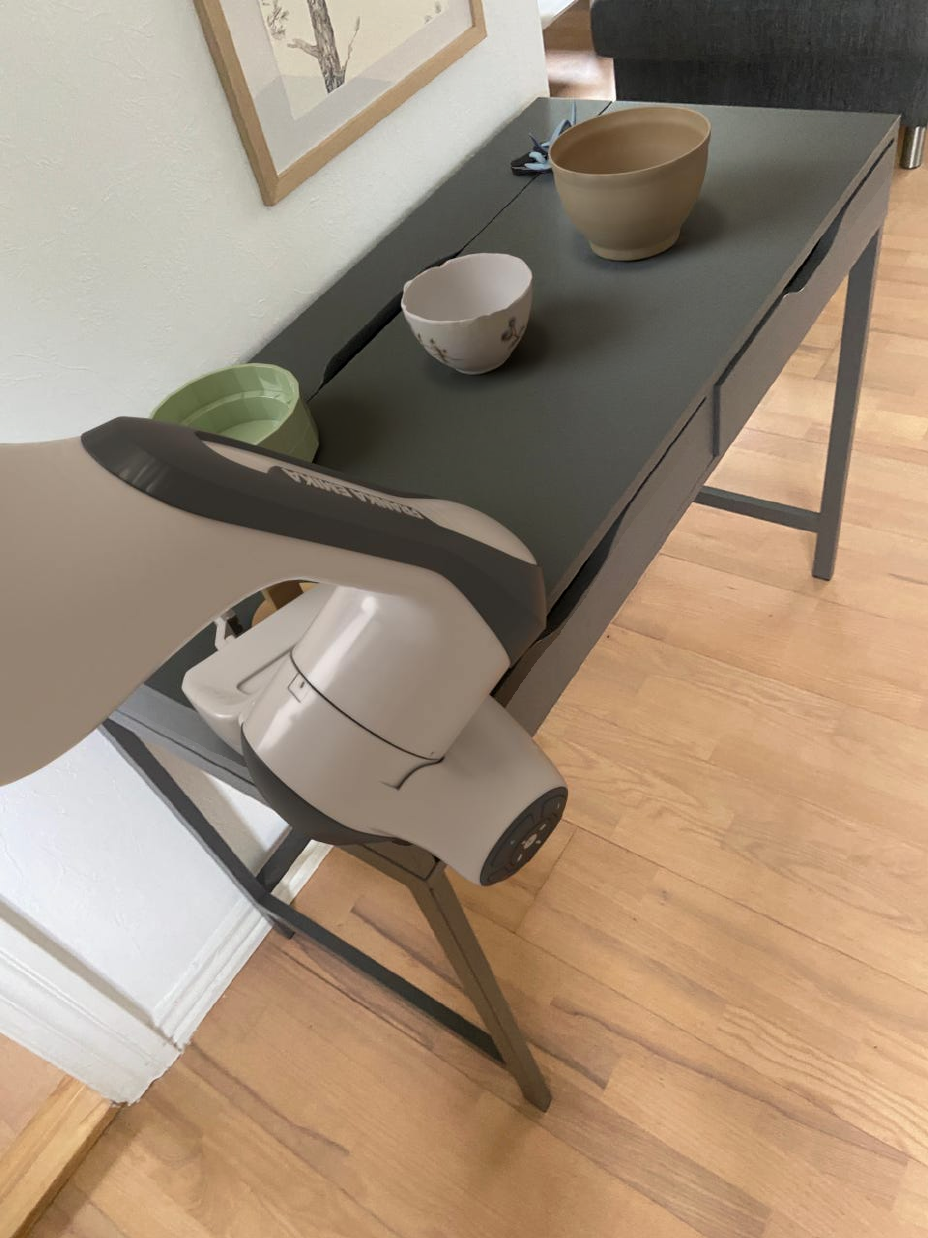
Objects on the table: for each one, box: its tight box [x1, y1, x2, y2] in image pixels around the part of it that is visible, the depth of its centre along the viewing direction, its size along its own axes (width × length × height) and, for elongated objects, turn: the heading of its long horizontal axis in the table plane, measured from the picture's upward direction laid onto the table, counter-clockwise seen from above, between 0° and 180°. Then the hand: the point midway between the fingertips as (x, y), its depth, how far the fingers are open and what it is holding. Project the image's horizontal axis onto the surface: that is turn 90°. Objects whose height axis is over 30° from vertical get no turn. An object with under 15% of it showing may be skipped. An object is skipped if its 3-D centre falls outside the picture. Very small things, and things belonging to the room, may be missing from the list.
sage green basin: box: [147, 362, 320, 463], centre depth 86 cm, size 15×15×6 cm
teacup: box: [400, 252, 533, 375], centre depth 89 cm, size 15×12×8 cm
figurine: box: [510, 99, 577, 176], centre depth 114 cm, size 10×12×8 cm
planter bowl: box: [548, 104, 712, 262], centre depth 96 cm, size 16×16×11 cm
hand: (275, 579), depth 68 cm, fingers open, 8 cm apart
